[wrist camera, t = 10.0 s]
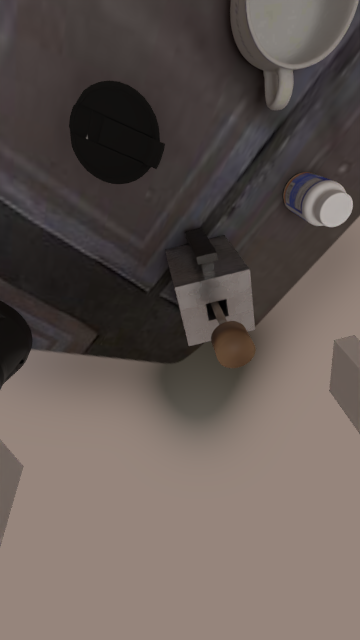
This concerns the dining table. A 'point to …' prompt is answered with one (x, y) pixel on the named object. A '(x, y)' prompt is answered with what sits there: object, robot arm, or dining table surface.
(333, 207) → the pill bottle
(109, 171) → the travel mug
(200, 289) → the grey block with hole
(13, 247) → the dining table surface
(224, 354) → the plunger
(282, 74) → the teacup
